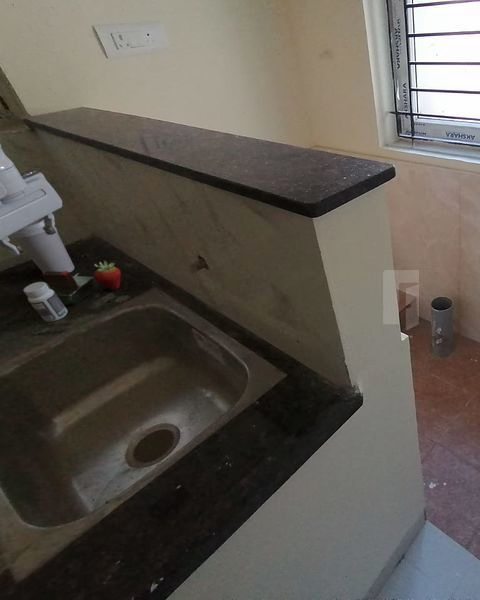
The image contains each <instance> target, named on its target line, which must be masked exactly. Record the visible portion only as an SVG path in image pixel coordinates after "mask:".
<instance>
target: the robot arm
mask: <svg viewBox="0 0 480 600" xmlns="http://www.w3.org/2000/svg"><path fill="white" fill-rule="evenodd" d="M62 207H63V200H62V198H61V197H60V194H58V193H57V191H56V189H54V187H53V186H52V185H51V183H50V182H48V181H47V179H46V177H45V175H44V174H43V173H42V172H40V171H39V170H35V169H29V170H26V171H25V172H21V173H20V171H19V170H18V168H17V166H16V165H15V164H14V162H13V161H12V160H11V158H9V157H8V156H7V155H6V154H5V152H4V150H3V148H2V144H1V142H0V247H1V248H4V249H6V251H8V253H9V254H10V256H19V255H22V253H25V251H24V250H23V248H22V247H21V246H20V245H19V244H12V243H10V242H11V239H10V238H9V237H10V236H9V235H11V234H13V233H15V232H17V231H18V230H20V229H22V228H24V227H26V226H28V225H30V224H31V223H33V222H35V221H37V220H39V219H44V224H45V227H43V230H44V231H45V233H46V234H47V235H53V234H54V233H56V232H57V233H58V229H57V227H56V226H55V225H54V222H55V216H54V214H53V213H54V212H56V211H57V210H60V209H61V208H62Z"/></svg>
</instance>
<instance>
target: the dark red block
mask: <svg viewBox="0 0 480 600" xmlns="http://www.w3.org/2000/svg"><path fill="white" fill-rule="evenodd" d="M72 276H73V275H72V274H71V272H68V271H63V272H58V271H46V272H45V273H43V272H42V274H41V277H42V278H43V279H44V281H45V283H46V284H47V283H48V285H49V286H53V287H73V286H74V285H76V284H77V283H76V281H75V280H74V278H73V277H72Z"/></svg>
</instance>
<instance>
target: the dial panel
mask: <svg viewBox="0 0 480 600" xmlns="http://www.w3.org/2000/svg"><path fill="white" fill-rule="evenodd" d="M72 277H73V278H74V280H75V281H76V283H77V284H76V285H74V286H73V287H53V286H49V285H48V283H47V282H46V285H47V286H48V287H49V289H52V290H53V291H54V292H55V294H56V295H57V297H58V298H59V299H60V301H61V302H62V303H63V305H64V306H78V305H79V304H80V303H81V302H82V301H84V300H85V299H86V298H87V297H89V296H90V295H91V294H93V292H95V291H96V290H97V289H98V288H99V287H100V283H99V282H98V281H97V280H96V279H95V276H82V275H81V276H80V273H79V272H77V273H76V274H75V275H72Z"/></svg>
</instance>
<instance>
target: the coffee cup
mask: <svg viewBox="0 0 480 600" xmlns="http://www.w3.org/2000/svg"><path fill="white" fill-rule="evenodd" d="M55 225H56V222H55V221H54V226H55ZM43 227H45V224H44V219H39V220H37V221H35V222H33V223H31V224H30V225H28V226H26V227H24V228H22V229H20V230H18V231H17V232H15V233H13V234H11V235H9V236H8V237H10V238H13V240H14V241H15V242H16V243H17V245H20V247H21V249H22V250H23V251H24V253H26V254H27V256H28V257H29V258H30V259H31V261H33V263H34V264H35V265H36V266H37V268H38V269H39V270H40V271H41V272H42V274H43V273H45V272H46V271H58V272H63V271H68V272H70V273H72V272H73V271H74V270H75V265H74V263H73V261H72V259H71V257H70V255H69V253H68V251H67V249H66V247H65V245H64V243H63V240H62V239H61V237H60V235H59V233H58V231H57V232H56V233H54V234H53V235H47V234H46V233H45V231H44V230H43Z"/></svg>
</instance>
